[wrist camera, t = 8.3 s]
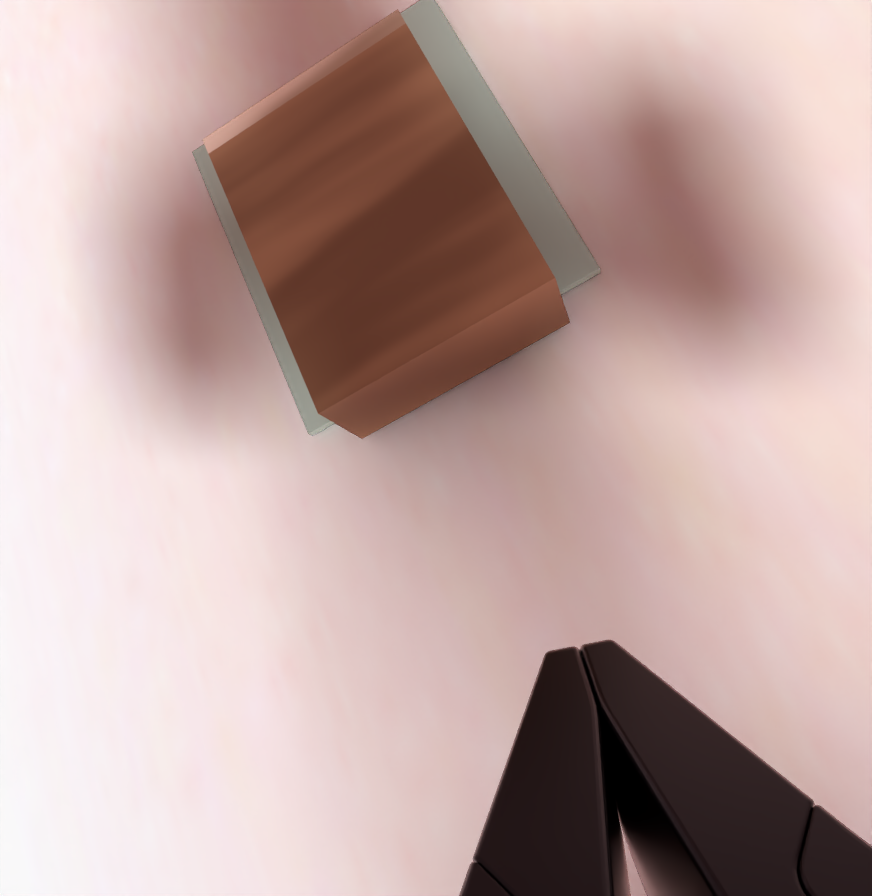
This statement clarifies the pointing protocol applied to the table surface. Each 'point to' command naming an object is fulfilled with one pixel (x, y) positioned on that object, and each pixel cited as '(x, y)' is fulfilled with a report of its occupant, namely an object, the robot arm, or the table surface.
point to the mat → (500, 152)
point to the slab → (381, 232)
